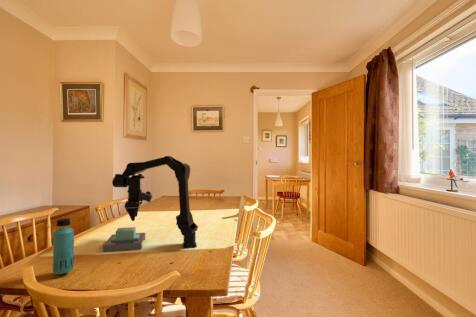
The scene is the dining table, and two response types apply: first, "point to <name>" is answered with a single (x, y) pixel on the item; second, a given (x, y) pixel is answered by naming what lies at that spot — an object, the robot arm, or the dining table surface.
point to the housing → (126, 234)
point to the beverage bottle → (63, 247)
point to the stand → (123, 244)
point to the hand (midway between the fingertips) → (134, 218)
